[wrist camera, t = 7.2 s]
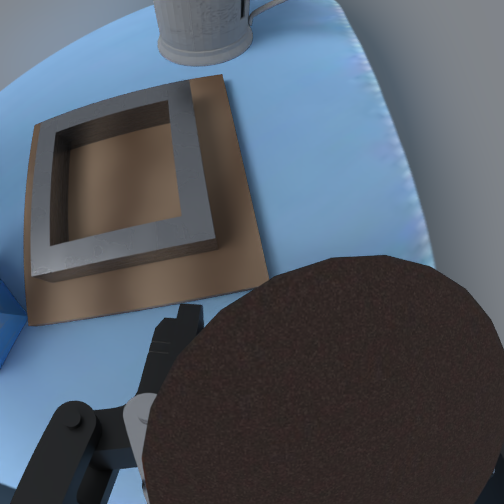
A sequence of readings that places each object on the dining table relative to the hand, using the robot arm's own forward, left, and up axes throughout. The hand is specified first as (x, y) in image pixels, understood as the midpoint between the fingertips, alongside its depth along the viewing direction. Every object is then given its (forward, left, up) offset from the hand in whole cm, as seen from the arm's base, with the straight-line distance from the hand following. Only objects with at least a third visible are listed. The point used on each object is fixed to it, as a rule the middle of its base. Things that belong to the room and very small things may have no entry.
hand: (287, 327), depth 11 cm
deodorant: (-1, -2, -8) cm, 8 cm away
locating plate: (-7, +10, -8) cm, 15 cm away
